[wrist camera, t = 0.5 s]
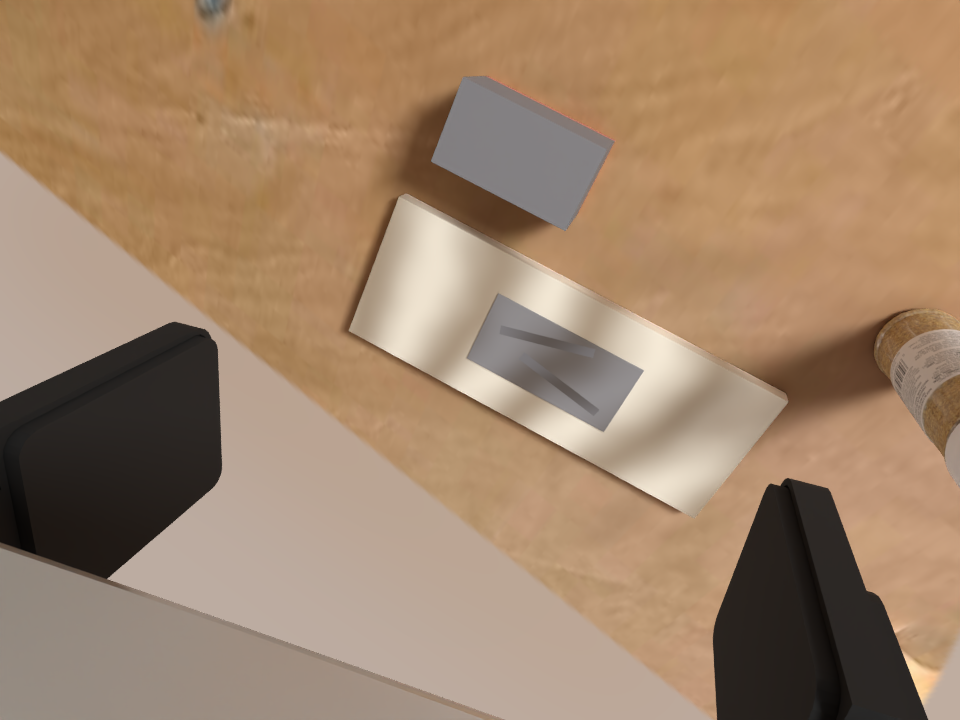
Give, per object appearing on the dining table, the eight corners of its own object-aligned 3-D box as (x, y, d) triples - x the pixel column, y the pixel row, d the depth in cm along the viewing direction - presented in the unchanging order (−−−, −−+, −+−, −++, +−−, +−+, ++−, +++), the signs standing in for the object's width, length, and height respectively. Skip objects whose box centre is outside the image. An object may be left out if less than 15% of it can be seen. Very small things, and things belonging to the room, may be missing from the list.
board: (356, 324, 46) (348, 331, 44) (406, 193, 41) (398, 196, 40) (693, 507, 44) (694, 519, 43) (785, 393, 39) (788, 402, 38)
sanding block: (458, 151, 39) (430, 161, 35) (488, 76, 37) (463, 77, 33) (578, 212, 39) (565, 231, 34) (615, 140, 37) (607, 149, 32)
